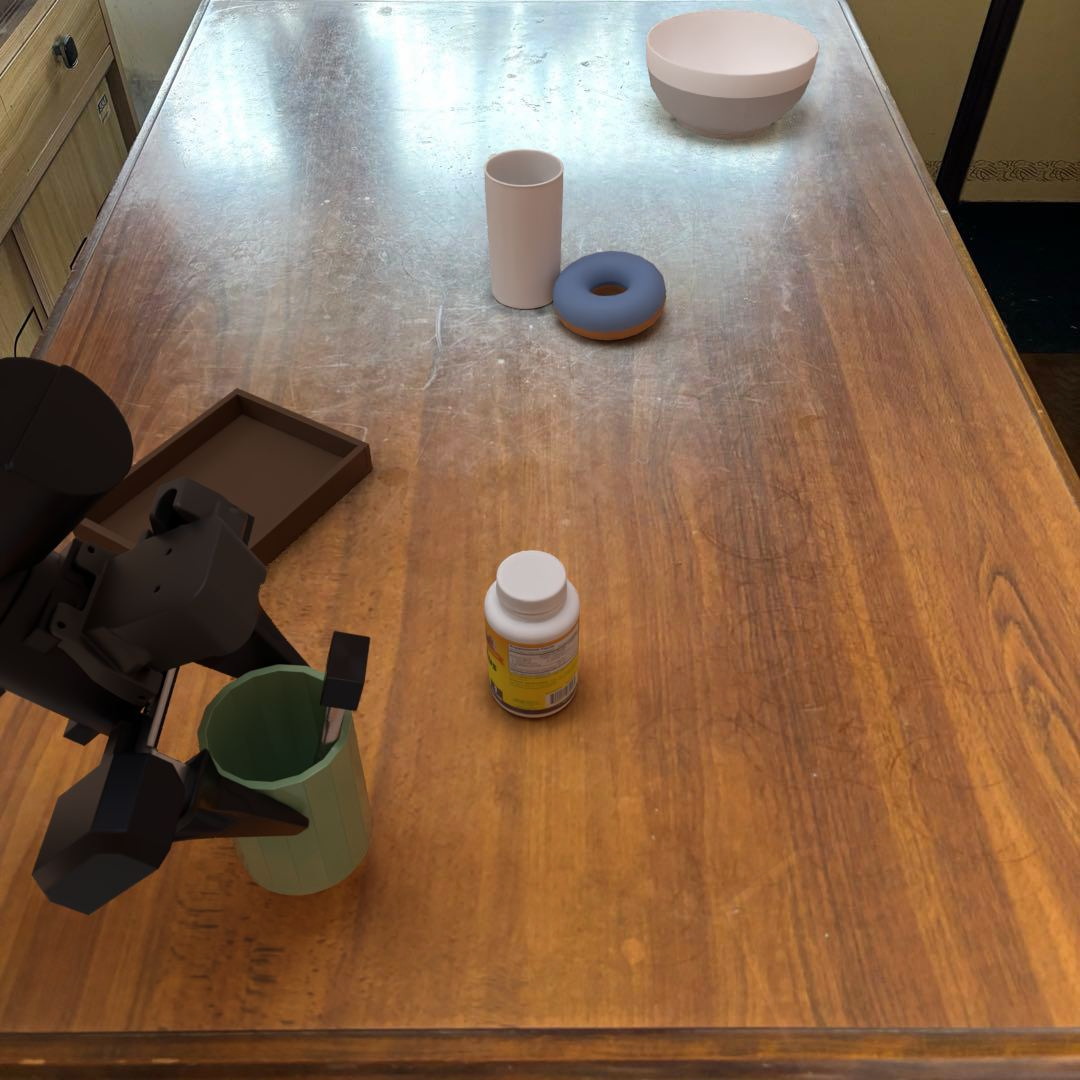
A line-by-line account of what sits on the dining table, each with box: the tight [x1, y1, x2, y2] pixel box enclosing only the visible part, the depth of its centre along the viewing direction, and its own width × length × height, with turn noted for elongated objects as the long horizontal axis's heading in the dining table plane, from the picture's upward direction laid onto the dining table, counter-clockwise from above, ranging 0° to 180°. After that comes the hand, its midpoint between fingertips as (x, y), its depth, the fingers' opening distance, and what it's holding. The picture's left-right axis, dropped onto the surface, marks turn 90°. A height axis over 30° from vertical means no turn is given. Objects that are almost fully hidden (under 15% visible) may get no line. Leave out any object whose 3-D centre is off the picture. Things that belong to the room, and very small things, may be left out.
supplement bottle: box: [483, 549, 581, 719], centre depth 65 cm, size 6×6×10 cm
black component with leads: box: [312, 630, 371, 766], centre depth 51 cm, size 4×3×14 cm, turn 90°
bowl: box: [645, 9, 820, 140], centre depth 124 cm, size 19×19×9 cm
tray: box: [71, 387, 374, 568], centre depth 80 cm, size 17×13×2 cm
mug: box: [483, 148, 565, 310], centre depth 98 cm, size 10×7×12 cm, turn 30°
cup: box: [196, 664, 373, 896], centre depth 53 cm, size 7×7×10 cm
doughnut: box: [552, 250, 667, 341], centre depth 96 cm, size 10×10×5 cm
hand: (314, 760), depth 52 cm, fingers closed on cup, 7 cm apart
